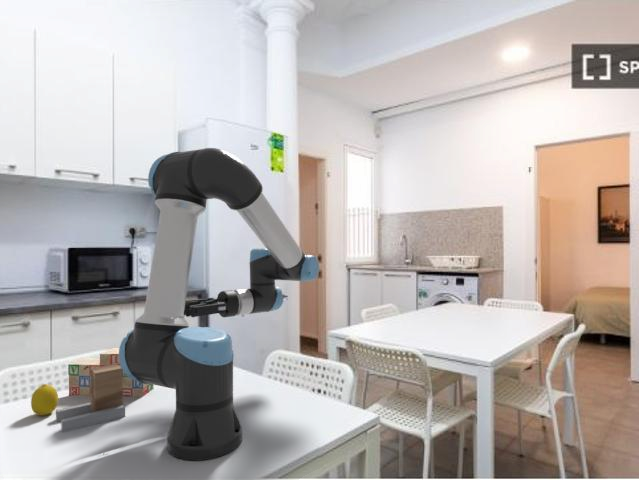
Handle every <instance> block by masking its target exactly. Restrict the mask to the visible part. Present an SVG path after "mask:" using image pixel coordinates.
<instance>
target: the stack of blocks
mask: <svg viewBox="0 0 639 480" xmlns="http://www.w3.org/2000/svg"><path fill="white" fill-rule="evenodd" d="M119 348H120V347H119ZM119 348H118V347H116V348H114V347H113V348H110V349H108V350H106V351H103V352H101V353H99V358H98V357H97V358H96V357H95V358H92V357H91V358H88V357H87V358H86V357H85V358H83V357H82V358H80V359H77V360H75V361H73V362H71V363H69V364H68V366H67V369H68V370H67V371H68V372H67V374H68V396H69V397H70V396H71V397H72V396H77V395H78V396H91V393H90V368H96V367H101V366H107V365H112V364H118V365H119V366H120V363H119ZM120 367H121V366H120ZM122 378H123V397H134V398H135V397H136V398H137V397H138V398H139V397H140V398H141V397H145V395H147V394H148V393H150V392H151V391H152V390H154V385H153V384H143V383H141V382H138V381H136V380H133V379H131V378H129V377H128V376H127V375H126V374H125V373H124V372H123V370H122Z"/></svg>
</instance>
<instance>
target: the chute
mask: <svg viewBox="0 0 639 480" xmlns="http://www.w3.org/2000/svg"><path fill="white" fill-rule="evenodd" d="M124 417H126V406H125V405H124V404H123V405H121V406H117V407H113V408H109V409H104V410H100V411H96V412H92V413H91V401H90V402H87V403H80V404H77V405H73V406H68V407H63V408H60V409H55V421H56V422H60V425H61V426H60V429H61V432H62V433H65V432H70V431H73V430H76V429H81V428H85V427H89V426H93V425H96V424H100V423H105V422H108V421H113V420H115V419H116V420H117V419H120V418H124Z"/></svg>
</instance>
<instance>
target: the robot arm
mask: <svg viewBox="0 0 639 480" xmlns="http://www.w3.org/2000/svg"><path fill="white" fill-rule="evenodd" d="M147 177H148V178H147V179H148V180H147V181H148V187H149V188H151V189H150V192H151V194H152V195H153V197H154V198H155V199H154V205H156V207H157V208H158V210H159V211H160V212H159V218H158V223H157V230H156V237H155V242H154V249H153V255H152V261H151V267H150V273H149V279H148V287H147V292H146V298H145V305H144V306H145V307H144V312H143V313H142V315H141V316H139V317H138V318H136V319H135V321H134V329H132V330H130V331H128V333H127V334H126V336H125V337H123V339H122V341H121V342H120V345H119V363H120V366H121V368H122V370H123V372H124V373H125V374H126V375H127V376H128V377H129V378H131V379H133V380H136V381H138V382H141V383H143V384H153V386H159V387H162V388H168V389H173V390H175V411H174V414H173V417H172V421H171V424H170V428H169V429H168V430H169V431H168V434H167V439H166V440H167V443H166V444H167V445H166V447H167V451H168V453H169V454H170V455H171V456H173V457H174V458H177V459H180V460H181V459H182V460H184V461H185V460H187V461H203V460H211V459H215V458H218V457H221V456H224V455H226V454H229V453H231V452H233V451H234V450H236V449H237V448H238V447H239V446H240V445H241V444H242V441H243V428H242V425H241V420H240V418H239V416H238V413H237V410H236V408H235V404H234V356H235V355H234V350H233V340H232V338H231V336H230V334H229V333H228V332H227V331H225V330H222V329H219V328H215V327H211V326H204V327H203V326H202V327H201V326H190V324H189V323H188V321H187V320H186V318H189V317H191V318H197V317H203V316H208V315H217V314H219V315H220V317H222V318H230V317H231V318H232V317H235V316H237V317H238V316H241V317H246V315H251V314H260V313H269V312H274V311H277V310H279V309H280V308H281V307H282V306H283V303H284V295H283V291H282V289H281V288H280V286H277V285H276V282H275V281H292V282H302V283H303V282H312V281H315V280H316V279H317V277H318V275H319V272H320V263H319V259H318V258H317V257H316V256H315V255H311V254H305V253H304V252H303V250H302V249H301V247H300V246H299V245H298V243H297V242H296V240H295V238H294V237H293V236H292V234H291V233H290V231H289V230H288V229H287V227H286V225H285V224H284V222H283V221H282V220H281V218H280V217H279V215H278V213H277V212H276V210H275V209H274V208H273V207H272V205H271V204H270V202H269V201H268V199H267V198H266V196H265V195H264V194H263V184H262V183H261V181H260V180H259V178H258V177H257V176H256V175H255V173H254V172H253V171H252V169H250V168H249V167H248V166H247V165H246V164H245V163H244V162H243V161H242V160H240V159H239V158H238V157H236V156H235V155H233V154H231V153H229V152H228V151H225V150H223V149H220V148H215V147H205V148H201V149H200V148H199V149H194V150H192V149H191V150H188V151H187V150H186V151H174V152H169V153H166V154H163V155H161V156H160V157H158V158H157V159H155V161H154V162H153V163H152V164H151V166H150V168H149V172H148V176H147ZM209 199H210V200H212V199H215V200H220V201H222V202H223V203H225V204H226V205H227V207H228V208H229V209H230V210H231V211H236V212H237V213H238V214H239V215H240V217H241V218H242V219H243V221H245V222H246V224H247V225H248V227H249V228H250V229H251V231H252V232H253V233H254V234H255V236H256V237H257V238H258V240H259V241H260V242H261V243H262V244H263V246H264V248H252V249H251V250H250V251H249V254H250V255H249V288H240V289H234V290H232V289H231V290H222V291H220V292H219V293H218V294H217V297H216V298H214V297H208V298H205V297H204V298H200V299H199V298H198V299H188V300H187V294H188V287H189V279H190V273H191V265H192V260H193V251H194V245H195V240H196V239H195V237H196V231H197V224H198V218H199V216H200V215H202V214H203V213H205V211H206V208H207V200H209ZM185 317H186V318H185Z"/></svg>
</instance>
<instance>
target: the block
mask: <svg viewBox="0 0 639 480" xmlns="http://www.w3.org/2000/svg"><path fill="white" fill-rule="evenodd" d="M90 393H91V395H90V402H91V413H92V412H96V411H100V410H104V409H109V408H113V407H117V406H121V405H124V396H123V378H122V368H121V367H120V366H119V365H118V364H112V365H107V366H101V367H96V368H90Z"/></svg>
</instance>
